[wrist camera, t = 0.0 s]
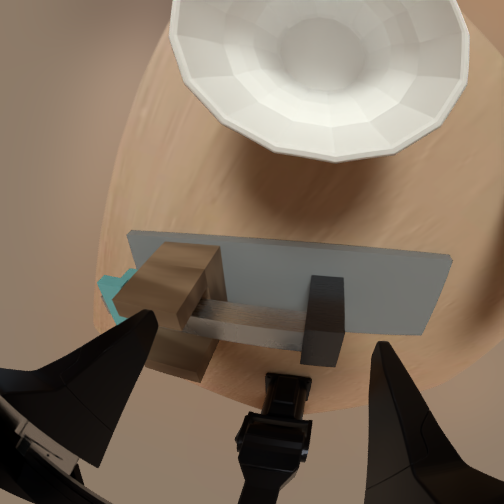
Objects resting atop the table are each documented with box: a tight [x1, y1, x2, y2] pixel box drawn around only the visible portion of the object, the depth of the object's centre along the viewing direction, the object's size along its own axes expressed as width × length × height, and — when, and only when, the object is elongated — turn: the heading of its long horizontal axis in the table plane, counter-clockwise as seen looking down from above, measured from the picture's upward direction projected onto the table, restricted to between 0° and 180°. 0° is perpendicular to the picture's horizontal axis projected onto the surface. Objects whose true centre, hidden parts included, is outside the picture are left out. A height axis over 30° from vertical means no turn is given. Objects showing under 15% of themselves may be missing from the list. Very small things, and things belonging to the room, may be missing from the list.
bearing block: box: [112, 241, 228, 383], centre depth 25 cm, size 9×6×10 cm, turn 3°
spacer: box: [97, 269, 138, 325], centre depth 26 cm, size 8×3×5 cm, turn 3°
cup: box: [169, 0, 470, 164], centre depth 11 cm, size 12×12×11 cm
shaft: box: [101, 275, 345, 367], centre depth 25 cm, size 4×23×7 cm, turn 93°
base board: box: [127, 230, 453, 335], centre depth 27 cm, size 10×33×1 cm, turn 93°
